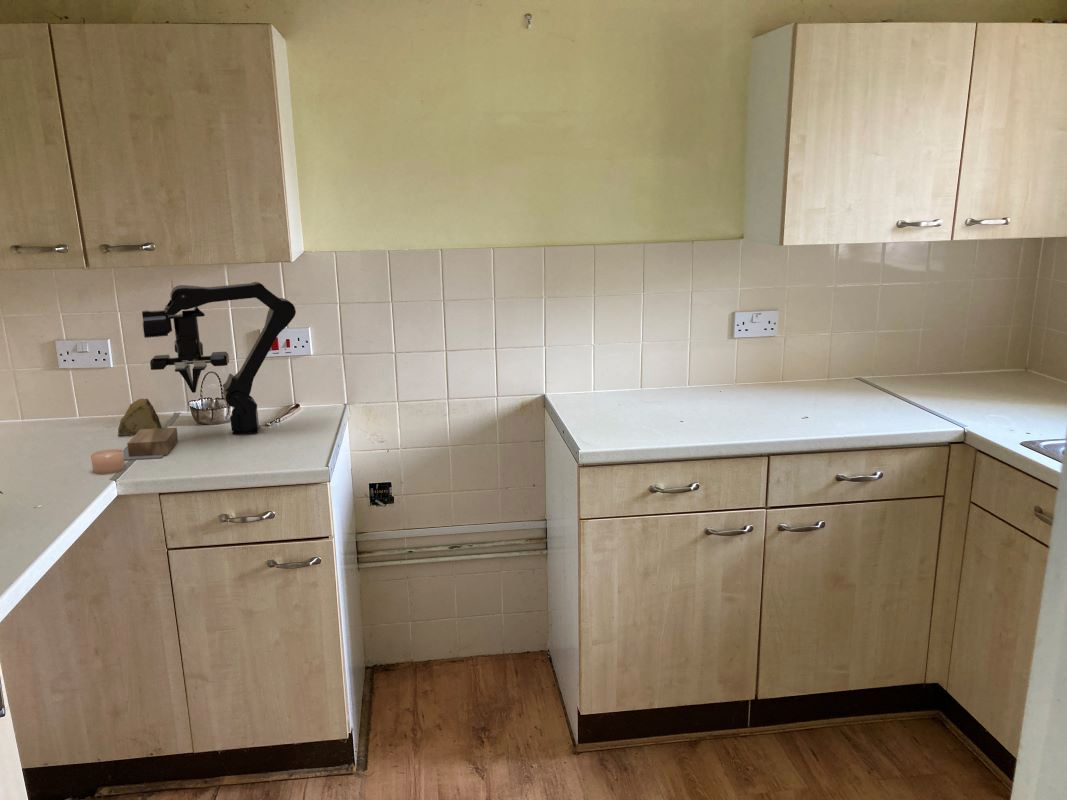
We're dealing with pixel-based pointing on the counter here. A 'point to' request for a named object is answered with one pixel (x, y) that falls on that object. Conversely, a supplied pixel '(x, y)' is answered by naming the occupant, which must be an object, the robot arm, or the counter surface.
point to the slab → (152, 442)
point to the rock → (139, 418)
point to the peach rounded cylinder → (108, 461)
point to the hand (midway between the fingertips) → (194, 392)
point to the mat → (126, 456)
